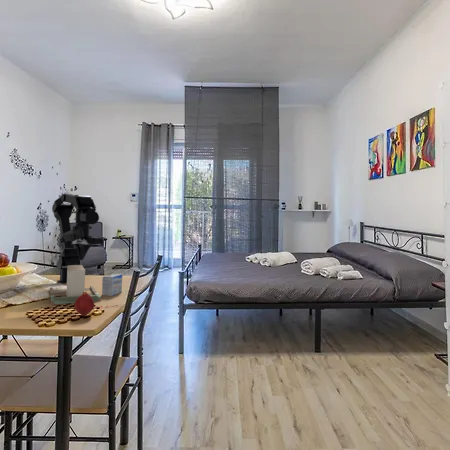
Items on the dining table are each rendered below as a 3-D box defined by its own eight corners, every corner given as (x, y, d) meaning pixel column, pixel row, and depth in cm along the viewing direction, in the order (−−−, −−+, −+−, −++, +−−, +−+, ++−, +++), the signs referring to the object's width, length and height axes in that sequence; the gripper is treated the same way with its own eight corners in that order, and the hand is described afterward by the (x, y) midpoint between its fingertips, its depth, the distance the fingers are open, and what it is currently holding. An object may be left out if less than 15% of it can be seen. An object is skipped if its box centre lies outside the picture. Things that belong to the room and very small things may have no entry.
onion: (77, 313, 115) (78, 289, 114) (95, 313, 115) (96, 289, 115) (71, 318, 109) (72, 292, 109) (90, 318, 109) (91, 293, 109)
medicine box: (111, 299, 135) (112, 277, 134) (101, 298, 135) (102, 276, 135) (121, 295, 142) (122, 274, 142) (111, 294, 143) (112, 273, 143)
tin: (66, 294, 133) (67, 265, 133) (80, 293, 135) (81, 265, 135) (68, 301, 122) (69, 270, 122) (84, 300, 125) (85, 269, 124)
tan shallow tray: (49, 293, 139) (49, 285, 139) (92, 291, 146) (92, 283, 146) (50, 308, 118) (51, 298, 118) (100, 305, 126) (101, 295, 126)
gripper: (51, 223, 148) (50, 260, 148) (85, 224, 141) (84, 262, 141) (71, 223, 159) (70, 258, 159) (104, 224, 152) (103, 260, 152)
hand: (81, 259), depth 152 cm, fingers closed
